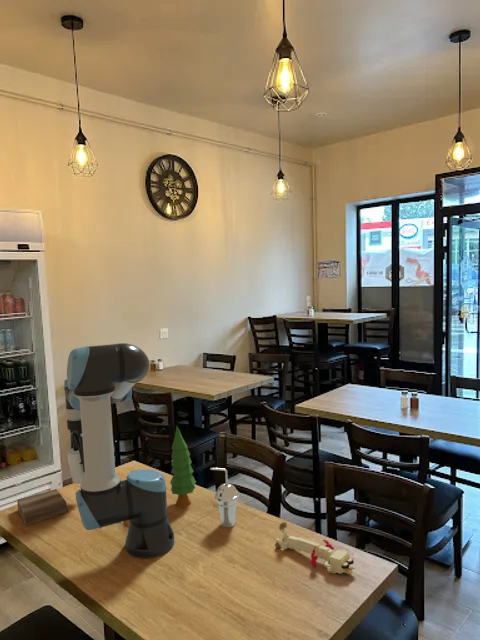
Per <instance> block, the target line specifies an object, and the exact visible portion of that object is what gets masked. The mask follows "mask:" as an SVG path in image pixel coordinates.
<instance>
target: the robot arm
mask: <svg viewBox="0 0 480 640" xmlns="http://www.w3.org/2000/svg"><path fill="white" fill-rule="evenodd" d="M149 370H150V360H149V357H148V355H147V354H146V353H145V351H143V350H142V349H141V348H140V347H138V346H137V345H134V344H131V343H127V342H126V343H124V342H122V343H121V342H120V343H112V344H101V345H100V344H99V345H90V346H82V347H76V348H73V349H72V350H71V351H70V352H69V355H68V358H67V366H66V378H65V379H64V381H63V390H64V397H65V398H64V399H65V416H66V417H65V418H66V419H67V420H66V425H67V430H68V431H69V432H70V433H69V434H70V449H73V450H74V451H78V450H79V454H80V459H81V462H80V463H79V464H80V465H81V478H82V482H81V484H79V485H80V489H79V490H76V491H75V494H74V495H75V500H76V505H77V510H78V513H79V517H80V520H81V523H82V526H83V528H84V529H85V530H86V531H93V530H96V529H97V530H98V529H99V530H100V529H102V528H105V527H109V526H113V525H116V524H120V523H124V522H127V521H129V527H128V530H127V534H126V538H125V551H126V552H127V553H128V555H129V556H132V557H134V558H137V559H150V558H155V557H160V556H162V555H164V554H166V553H168V552H169V551H170V550H171V549H173V547H174V546H175V533H174V531H173V528H172V525H171V523H170V521H169V518H168V503H167V502H168V501H167V490H168V489H167V485H166V484H167V483H166V478H165V476H164V474H162V473H161V472H159V471H157V470H153V469H144V468H143V469H142V468H141V469H136V470H132V471H130V472H129V473H128V474H127V476H126V479H124V480H122V478H121V476H120V475H119V474H118V473H116V465H115V463H116V462H115V451H114V450H115V449H114V434H113V420H112V419H113V417H112V405H111V404H116V403H117V404H119V403H124V402H128V401H131V399H132V395H133V391H132V389H133V387H134V386H135V384H136V383H139V382H141V381H142V380H144V378H145V377H146V376H147V374H148V372H149Z"/></svg>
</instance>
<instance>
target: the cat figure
mask: <svg viewBox="0 0 480 640" xmlns="http://www.w3.org/2000/svg"><path fill="white" fill-rule="evenodd" d="M287 527H288V524H287V522H286V521H282V522H281V523H280V524H279V526H278V530H279V531H280V533H281V534H282V539H281V538H279V537H277V538H276V539H275V543H274V547H275V548H278V549H280V548H282V549H283V550H287V549H290V550H293V549H294V550H296V551H299V552H301V551H302V552H304V553H307V554H310V561H309V562H310V565H311V567H312V568H313V567H314V568H317V567H318V566H317V565H318V563H317V560H318V558H319V559H322V560H324V564H323V565H324V567H325V568H326V569H327V572H329V573H332V574H336V573H338V574H340V575H341V574H343V573H345V574H347V575H351V574H352V573H353V571H354V570H356V568H355V567H354V566H352V567H351V565H354V559H353V558H352V557H351V556H350V554H349V552H347V551H344V550H341V549H337V550H335V549H334V546H333V545H332V544H331V543H330V542H329V541H328V540H327V539H323V540H322V542H324V544H325V546H324V545H322V544H321V543H319V542H316V541H313V540H310V539H306V538H304V537H300V536H299V537H297V536H294V535H290V534H289V533H288V531H287V530H286V528H287Z"/></svg>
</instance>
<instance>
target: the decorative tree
mask: <svg viewBox="0 0 480 640" xmlns="http://www.w3.org/2000/svg"><path fill="white" fill-rule="evenodd" d="M188 447H189V446H188V445H187V443H186V441H185V439H184V438H183V436H182V433H181V431H180V428H179V426H176V427H175V434H174V439H173V442H172V445H171V450H172V452H171V459H172V460H171V466H172V469H171V471H170V474H173V475H172V477H171V480H170V486H171V488H170V491H171V493H172V494H173V495H177V499H176V502H175V506H177V507H180V508H185V507H187V506H189V505H192V501H191V499H190V498H189V496H188V494H192V493H194V490H195V489H196V486H195V484H196V483H197V481H196V479H195V477H194V476H193V473H194V469H193V467H192V465H191V464H192V462H193V461H192V460H191V457H190V456H191V452H190V451H189V449H188Z"/></svg>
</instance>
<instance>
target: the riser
mask: <svg viewBox="0 0 480 640" xmlns="http://www.w3.org/2000/svg"><path fill="white" fill-rule="evenodd" d="M16 502H17V503H16V504H17V511H18V513H19V514H20V517H21V519H22V520H23V523H24V525H25V526H28V525H32V524H35V523H38V522H41V521H44V520H48V519H51V518H54V517H58V516H61V515H65V514H67V513H68V508H67V507H68V506H67V501H66V499H65V498H64V497H63V496H62V495H61V493H60V492H59V491H58V489H56V488H54V489H52V490H48V491H44V492H41V493H37V494H34V495H30V496H26V497H23V498H19V499H16Z"/></svg>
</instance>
